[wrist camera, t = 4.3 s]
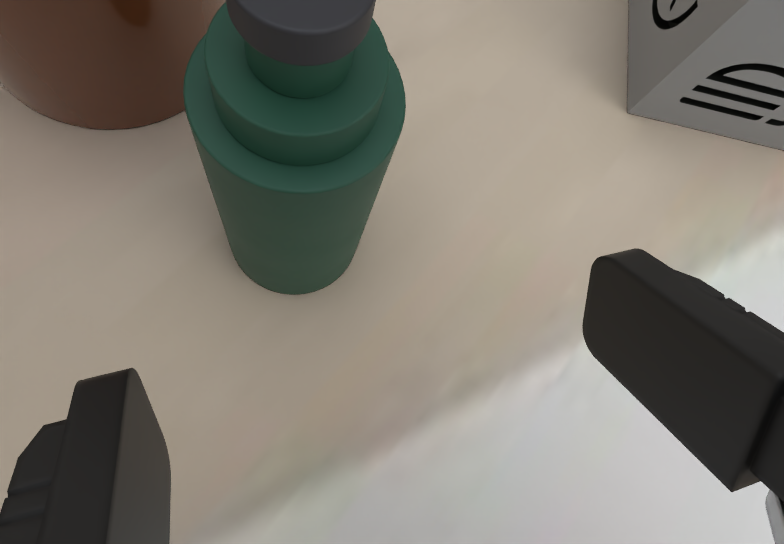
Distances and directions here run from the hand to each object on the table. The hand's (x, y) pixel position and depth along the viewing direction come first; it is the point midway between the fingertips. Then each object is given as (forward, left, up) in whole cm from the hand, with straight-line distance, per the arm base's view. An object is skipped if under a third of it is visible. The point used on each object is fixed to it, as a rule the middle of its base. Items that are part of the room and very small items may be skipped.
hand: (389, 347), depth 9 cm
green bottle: (-6, +4, -14) cm, 16 cm away
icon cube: (+4, +28, -14) cm, 32 cm away
